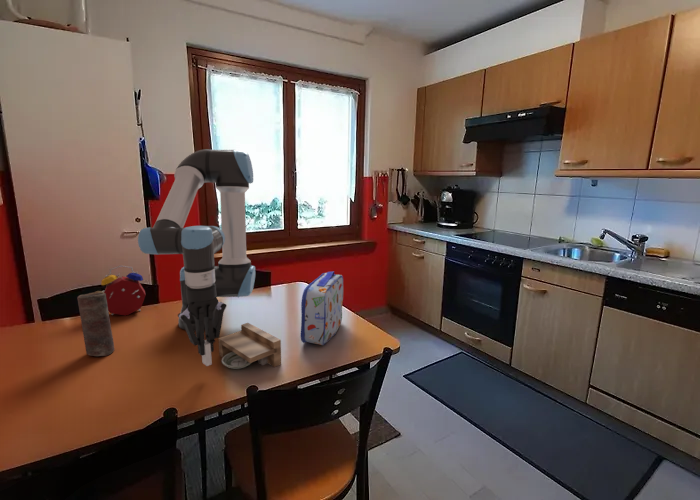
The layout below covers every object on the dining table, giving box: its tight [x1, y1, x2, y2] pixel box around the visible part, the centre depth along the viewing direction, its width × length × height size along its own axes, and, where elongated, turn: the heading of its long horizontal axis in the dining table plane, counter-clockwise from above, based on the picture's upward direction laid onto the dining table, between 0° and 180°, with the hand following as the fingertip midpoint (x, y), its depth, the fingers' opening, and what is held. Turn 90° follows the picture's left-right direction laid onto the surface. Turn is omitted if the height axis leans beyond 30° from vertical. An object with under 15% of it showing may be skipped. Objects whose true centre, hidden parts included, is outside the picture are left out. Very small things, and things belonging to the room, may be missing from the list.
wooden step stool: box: [218, 322, 282, 368], centre depth 113 cm, size 18×10×8 cm, turn 47°
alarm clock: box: [100, 265, 146, 317], centre depth 146 cm, size 15×9×20 cm, turn 121°
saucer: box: [221, 352, 252, 370], centre depth 111 cm, size 10×10×2 cm
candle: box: [77, 290, 115, 357], centre depth 114 cm, size 8×7×20 cm
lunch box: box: [300, 271, 344, 346], centre depth 131 cm, size 28×10×22 cm, turn 168°
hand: (207, 363), depth 104 cm, fingers closed
